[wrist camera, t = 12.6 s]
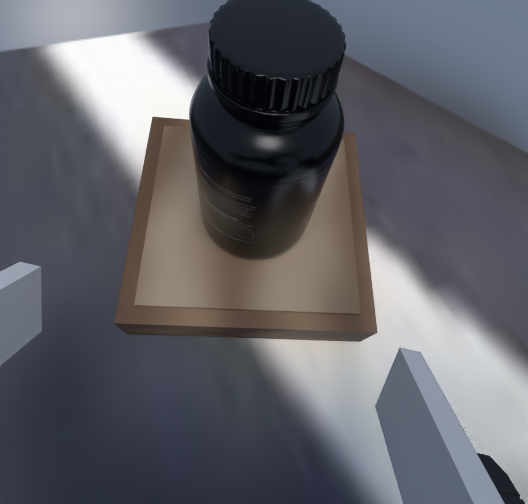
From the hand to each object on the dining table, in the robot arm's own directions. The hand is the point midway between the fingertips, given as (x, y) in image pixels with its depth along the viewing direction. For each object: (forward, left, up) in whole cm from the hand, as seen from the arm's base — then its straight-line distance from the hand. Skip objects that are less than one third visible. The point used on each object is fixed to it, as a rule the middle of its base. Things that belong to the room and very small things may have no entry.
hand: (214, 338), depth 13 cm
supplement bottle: (-2, -9, -7) cm, 12 cm away
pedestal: (-2, -9, -10) cm, 14 cm away
